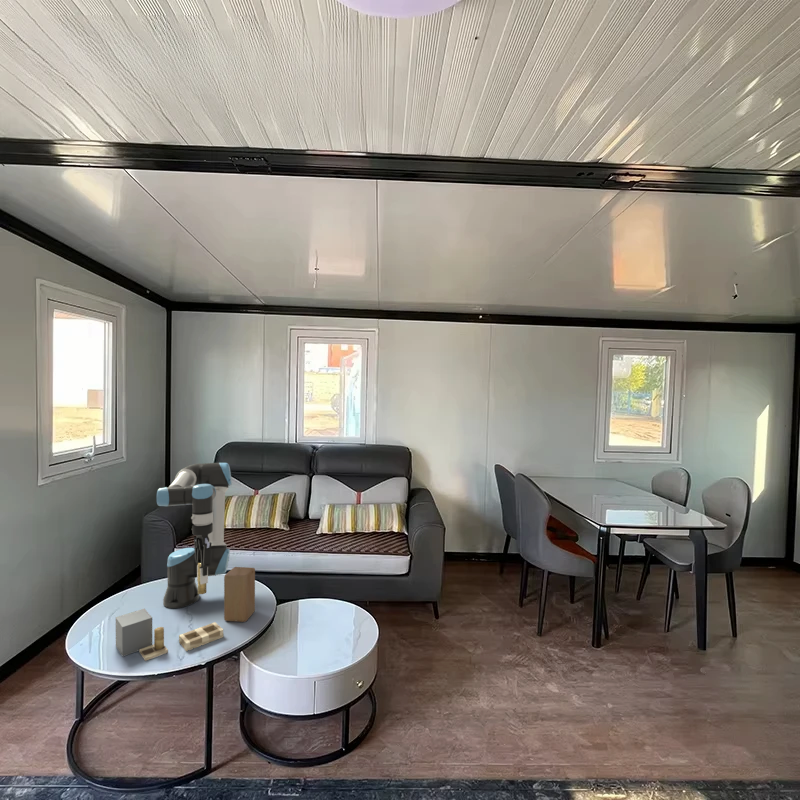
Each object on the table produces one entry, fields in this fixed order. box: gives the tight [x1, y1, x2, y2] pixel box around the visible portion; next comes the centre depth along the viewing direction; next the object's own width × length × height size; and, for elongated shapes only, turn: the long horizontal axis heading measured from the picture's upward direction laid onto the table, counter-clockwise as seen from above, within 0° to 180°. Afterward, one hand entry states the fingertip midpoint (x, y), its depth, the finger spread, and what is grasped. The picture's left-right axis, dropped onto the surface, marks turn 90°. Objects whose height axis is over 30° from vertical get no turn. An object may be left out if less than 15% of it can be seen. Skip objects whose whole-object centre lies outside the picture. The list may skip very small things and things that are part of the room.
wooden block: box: [223, 566, 256, 623], centre depth 192 cm, size 10×10×20 cm
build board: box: [178, 621, 224, 652], centre depth 174 cm, size 8×14×3 cm, turn 135°
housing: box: [115, 608, 153, 657], centre depth 170 cm, size 10×10×11 cm
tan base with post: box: [138, 626, 169, 662], centre depth 166 cm, size 8×8×8 cm
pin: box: [197, 562, 207, 595], centre depth 177 cm, size 3×3×12 cm
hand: (202, 581), depth 177 cm, fingers closed on pin, 3 cm apart
